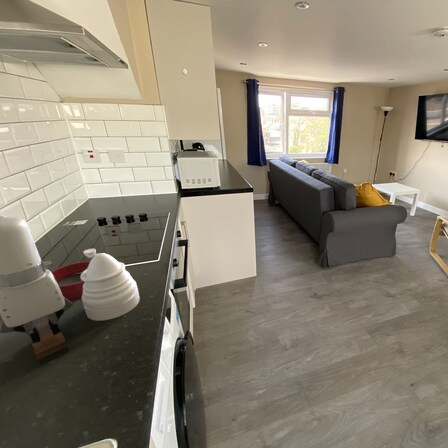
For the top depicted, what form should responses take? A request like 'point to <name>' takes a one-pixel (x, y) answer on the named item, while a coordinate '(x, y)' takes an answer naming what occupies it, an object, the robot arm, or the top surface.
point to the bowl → (74, 289)
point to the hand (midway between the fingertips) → (47, 338)
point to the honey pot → (107, 287)
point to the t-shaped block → (49, 344)
